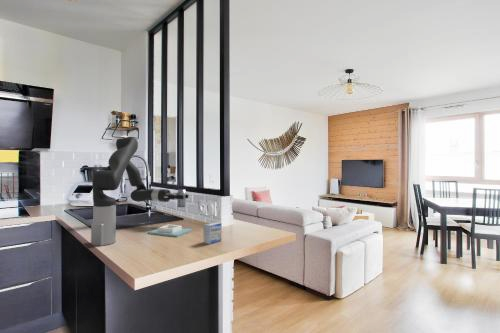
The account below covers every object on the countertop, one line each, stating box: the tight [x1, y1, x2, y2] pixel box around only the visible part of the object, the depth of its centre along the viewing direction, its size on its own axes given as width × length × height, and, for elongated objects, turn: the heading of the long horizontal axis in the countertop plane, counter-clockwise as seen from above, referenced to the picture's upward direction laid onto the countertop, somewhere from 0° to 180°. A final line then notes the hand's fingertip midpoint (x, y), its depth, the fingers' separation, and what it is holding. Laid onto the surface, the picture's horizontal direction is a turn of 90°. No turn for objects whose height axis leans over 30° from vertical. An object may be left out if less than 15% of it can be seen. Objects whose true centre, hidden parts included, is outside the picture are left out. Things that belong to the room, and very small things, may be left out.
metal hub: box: [177, 189, 187, 208], centre depth 164 cm, size 4×4×10 cm
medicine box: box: [202, 221, 222, 245], centre depth 132 cm, size 8×4×9 cm, turn 143°
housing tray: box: [147, 224, 193, 238], centre depth 149 cm, size 14×18×3 cm
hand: (185, 196), depth 164 cm, fingers closed on metal hub, 4 cm apart
